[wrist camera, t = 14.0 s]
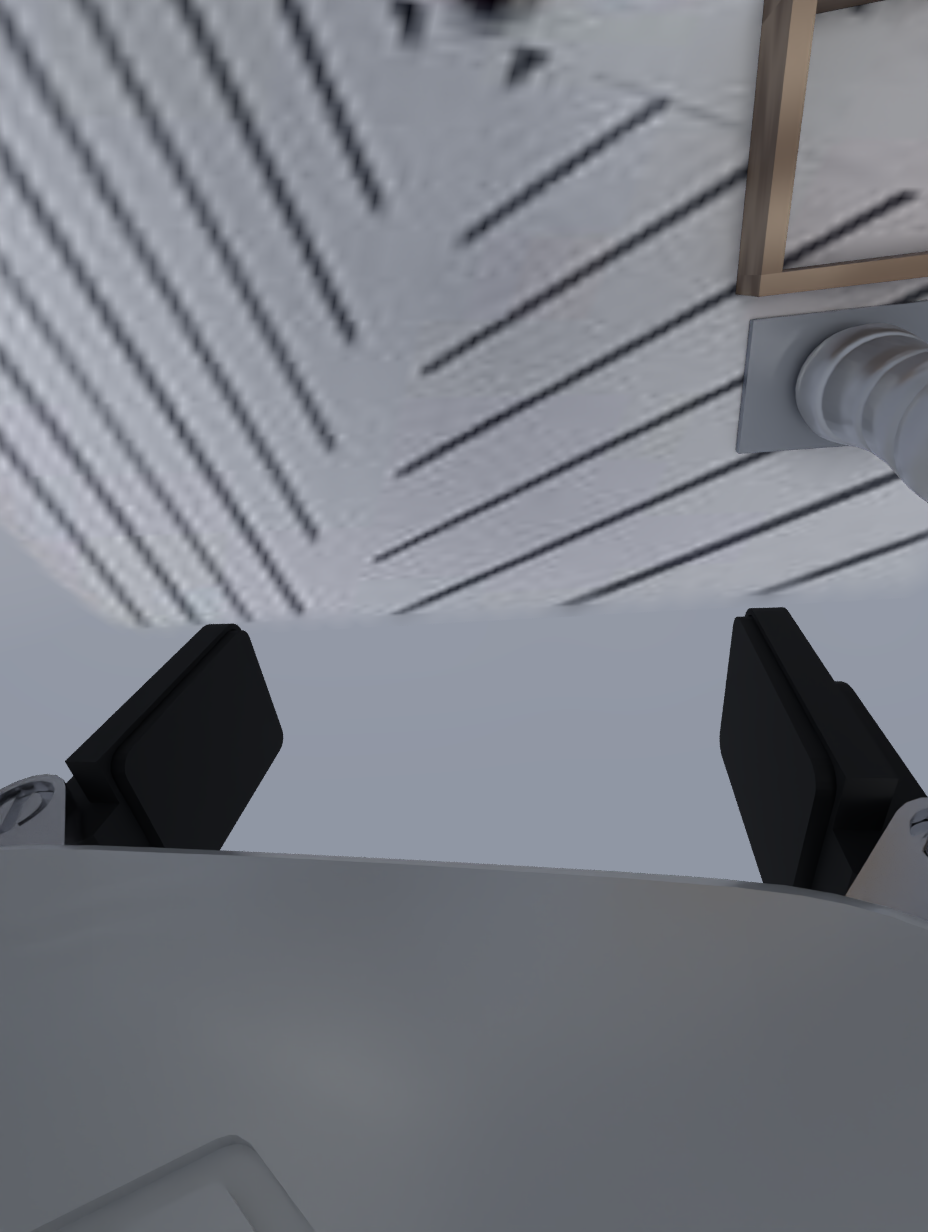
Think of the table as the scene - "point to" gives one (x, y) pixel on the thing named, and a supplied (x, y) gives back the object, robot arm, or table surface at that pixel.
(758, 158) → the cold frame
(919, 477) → the plastic bottle
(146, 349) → the table surface
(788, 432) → the slate tile
